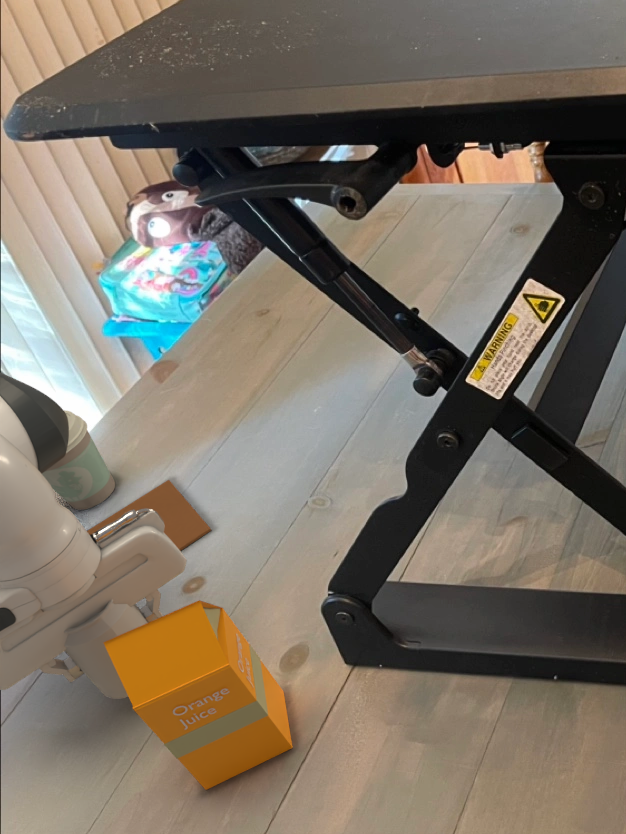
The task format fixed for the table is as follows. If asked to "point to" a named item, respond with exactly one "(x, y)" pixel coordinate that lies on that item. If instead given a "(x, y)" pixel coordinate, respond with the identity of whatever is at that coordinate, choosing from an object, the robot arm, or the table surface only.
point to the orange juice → (203, 692)
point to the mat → (167, 515)
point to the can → (102, 645)
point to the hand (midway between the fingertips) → (116, 647)
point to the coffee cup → (80, 469)
